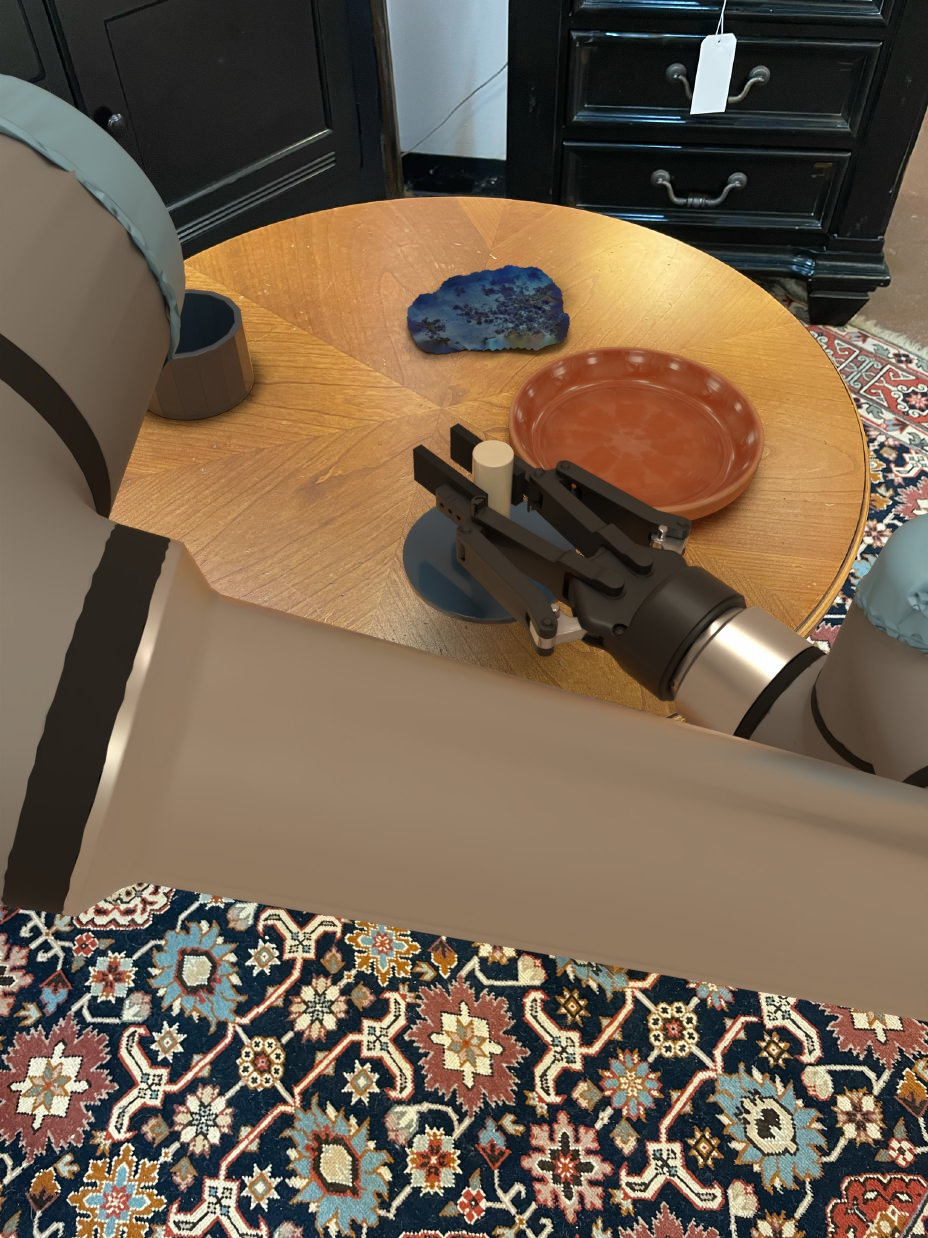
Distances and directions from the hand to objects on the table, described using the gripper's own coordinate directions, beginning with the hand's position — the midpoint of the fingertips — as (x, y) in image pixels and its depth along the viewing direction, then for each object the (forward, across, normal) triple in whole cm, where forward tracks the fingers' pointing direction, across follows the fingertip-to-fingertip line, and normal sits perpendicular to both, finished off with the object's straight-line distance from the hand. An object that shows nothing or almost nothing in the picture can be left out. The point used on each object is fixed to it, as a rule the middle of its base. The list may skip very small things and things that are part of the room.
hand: (436, 451), depth 65 cm
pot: (+38, +1, -16) cm, 41 cm away
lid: (-5, 0, -6) cm, 8 cm away
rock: (+27, +30, -16) cm, 43 cm away
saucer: (+2, +25, -16) cm, 30 cm away
